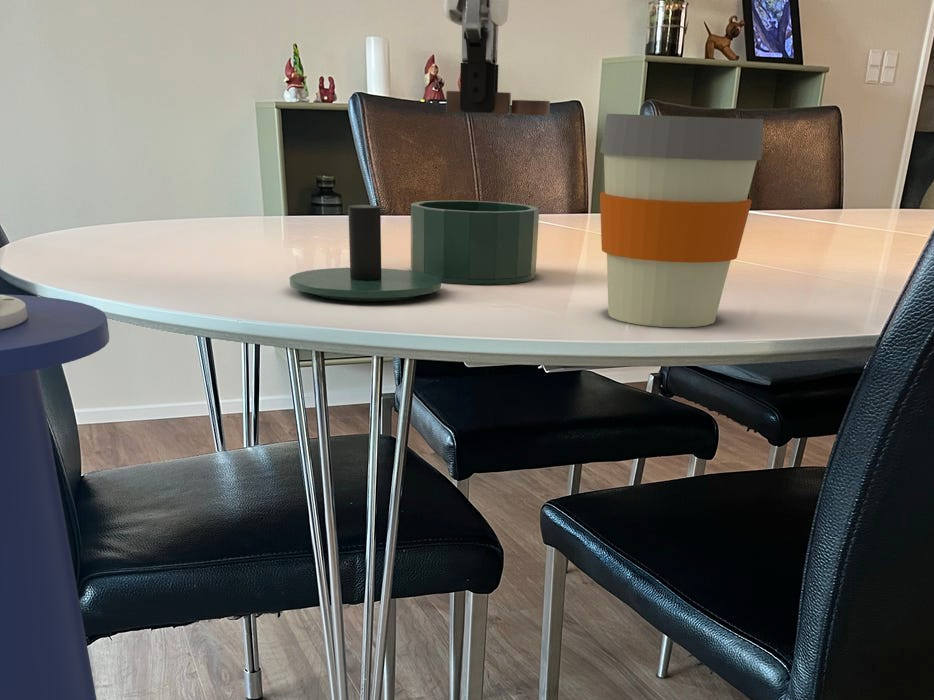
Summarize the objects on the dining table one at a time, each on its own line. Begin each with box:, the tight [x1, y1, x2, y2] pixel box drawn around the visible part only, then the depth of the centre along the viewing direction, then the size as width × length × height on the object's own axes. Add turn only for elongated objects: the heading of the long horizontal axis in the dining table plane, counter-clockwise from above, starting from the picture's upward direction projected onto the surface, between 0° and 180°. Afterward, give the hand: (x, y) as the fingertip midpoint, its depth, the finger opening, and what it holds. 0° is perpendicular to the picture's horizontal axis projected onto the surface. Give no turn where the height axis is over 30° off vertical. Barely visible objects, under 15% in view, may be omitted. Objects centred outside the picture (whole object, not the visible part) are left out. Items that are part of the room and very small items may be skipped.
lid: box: [289, 204, 442, 303], centre depth 89 cm, size 14×14×7 cm
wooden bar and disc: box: [445, 90, 551, 116], centre depth 94 cm, size 10×4×2 cm, turn 82°
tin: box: [410, 199, 540, 286], centre depth 100 cm, size 13×13×6 cm
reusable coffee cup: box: [599, 113, 764, 328], centre depth 80 cm, size 13×12×15 cm
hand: (478, 110), depth 95 cm, fingers closed on wooden bar and disc, 1 cm apart
